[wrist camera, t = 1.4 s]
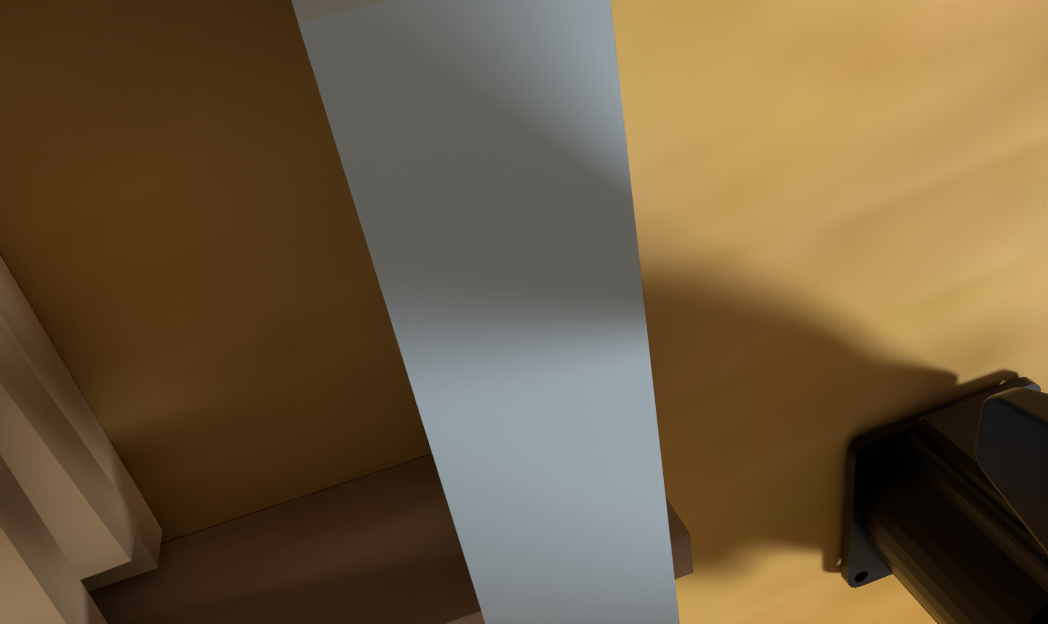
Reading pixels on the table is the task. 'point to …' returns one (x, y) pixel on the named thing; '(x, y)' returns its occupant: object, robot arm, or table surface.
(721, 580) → the table surface
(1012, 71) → the table surface
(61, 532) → the offcut stack
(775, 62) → the table surface
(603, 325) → the block
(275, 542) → the rack
